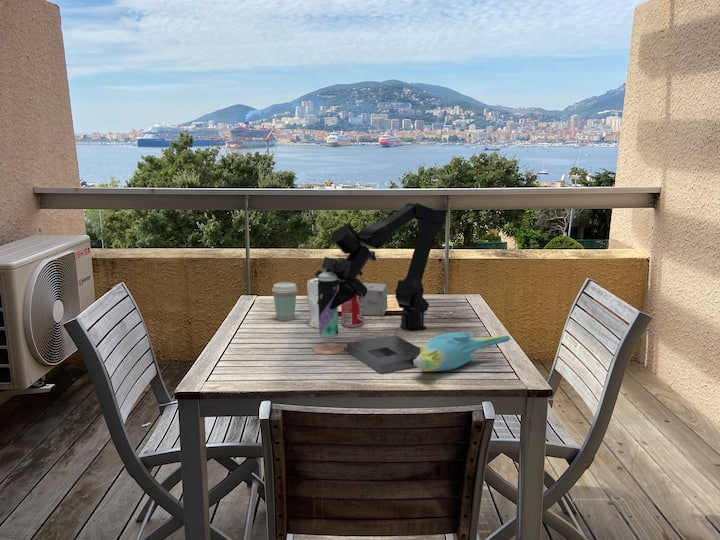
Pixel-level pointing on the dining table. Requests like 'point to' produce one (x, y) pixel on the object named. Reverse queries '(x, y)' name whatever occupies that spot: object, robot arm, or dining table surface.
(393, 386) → the dining table surface
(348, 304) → the soda can
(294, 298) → the coffee cup
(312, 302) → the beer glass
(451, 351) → the decorative bird
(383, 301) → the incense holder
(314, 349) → the terracotta coaster
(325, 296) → the spray can
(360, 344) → the square hole plate
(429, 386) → the dining table surface
